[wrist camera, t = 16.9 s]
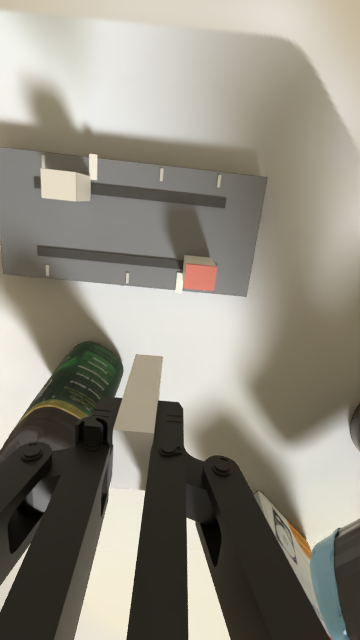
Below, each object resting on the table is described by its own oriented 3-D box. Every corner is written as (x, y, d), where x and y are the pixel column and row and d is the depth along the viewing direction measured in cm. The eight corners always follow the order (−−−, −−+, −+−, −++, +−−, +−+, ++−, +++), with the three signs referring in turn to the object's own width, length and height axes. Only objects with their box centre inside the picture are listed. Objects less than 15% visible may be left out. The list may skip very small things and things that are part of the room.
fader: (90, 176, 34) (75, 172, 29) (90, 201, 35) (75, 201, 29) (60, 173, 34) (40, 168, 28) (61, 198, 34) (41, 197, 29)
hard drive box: (308, 540, 57) (374, 705, 39) (272, 560, 59) (317, 728, 40) (259, 488, 53) (306, 645, 34) (221, 510, 55) (245, 673, 36)
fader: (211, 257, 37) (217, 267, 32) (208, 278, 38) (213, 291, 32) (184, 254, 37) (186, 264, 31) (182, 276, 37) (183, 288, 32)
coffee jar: (84, 329, 43) (23, 418, 26) (133, 363, 45) (107, 467, 28) (45, 380, 46) (-34, 492, 28) (93, 410, 47) (46, 533, 30)
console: (260, 176, 37) (268, 174, 34) (241, 292, 42) (246, 299, 39) (6, 147, 36) (-9, 142, 33) (15, 271, 40) (2, 276, 37)
